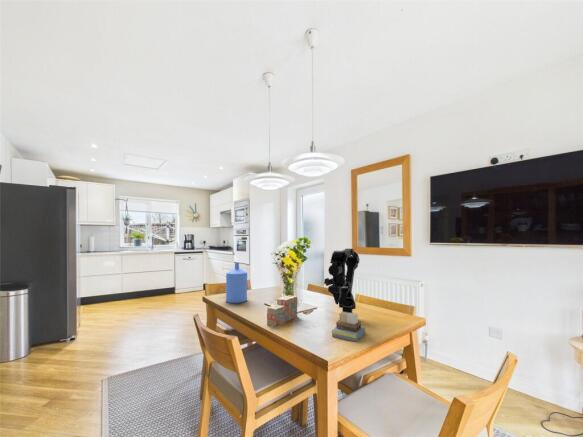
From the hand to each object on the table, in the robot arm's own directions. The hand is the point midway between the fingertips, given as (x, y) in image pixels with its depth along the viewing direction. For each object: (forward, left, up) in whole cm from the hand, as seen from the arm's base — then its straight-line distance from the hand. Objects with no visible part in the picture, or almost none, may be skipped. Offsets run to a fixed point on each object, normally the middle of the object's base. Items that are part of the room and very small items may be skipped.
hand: (340, 302), depth 145 cm
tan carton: (+11, +7, -6) cm, 14 cm away
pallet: (+11, +9, -9) cm, 17 cm away
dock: (+11, +9, -12) cm, 19 cm away
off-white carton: (+11, +11, -6) cm, 16 cm away
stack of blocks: (+11, -31, -12) cm, 35 cm away
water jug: (-8, -86, -12) cm, 87 cm away
